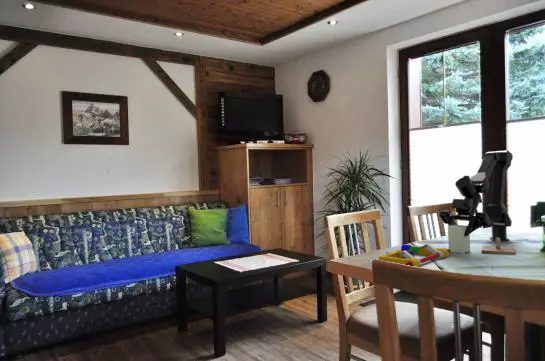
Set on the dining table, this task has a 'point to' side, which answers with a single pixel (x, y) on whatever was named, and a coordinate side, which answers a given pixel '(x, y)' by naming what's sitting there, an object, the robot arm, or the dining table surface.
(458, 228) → the sleeve
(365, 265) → the dining table surface
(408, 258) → the mechanical clamp
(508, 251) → the peg stand
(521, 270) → the dining table surface
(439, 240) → the dining table surface
